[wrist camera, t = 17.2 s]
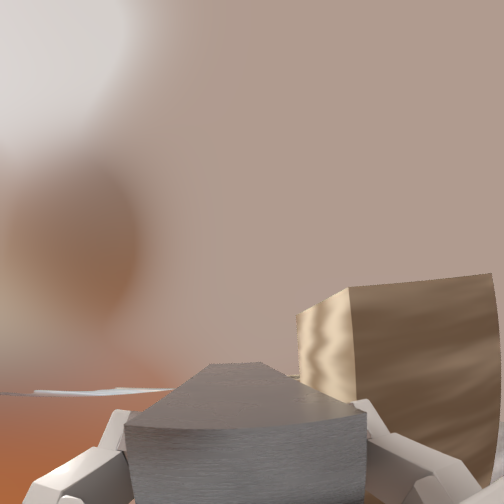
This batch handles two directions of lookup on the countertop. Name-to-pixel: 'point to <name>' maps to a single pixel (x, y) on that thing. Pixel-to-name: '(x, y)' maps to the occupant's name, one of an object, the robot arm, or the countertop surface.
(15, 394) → the countertop surface
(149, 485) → the block
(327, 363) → the step stand
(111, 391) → the countertop surface
